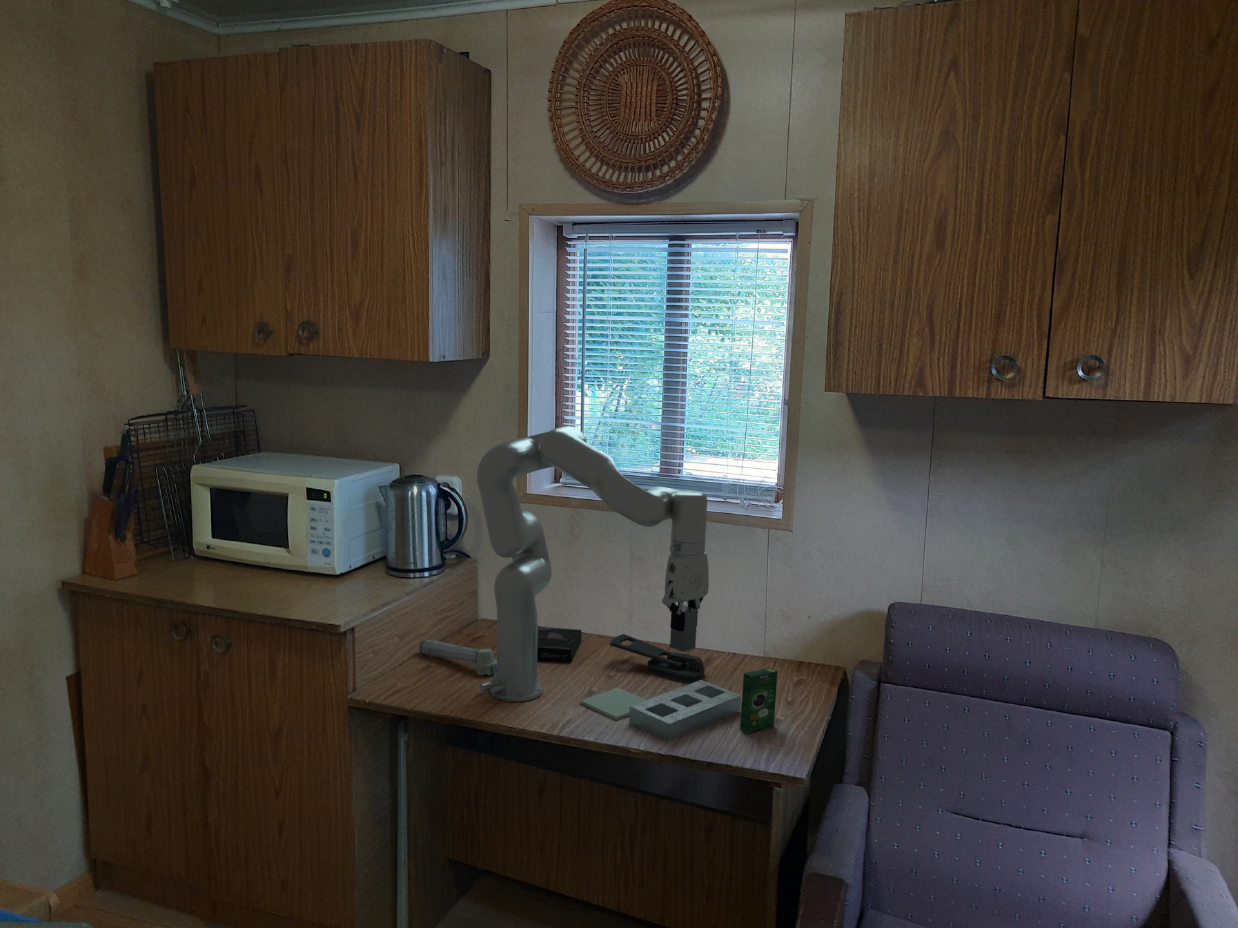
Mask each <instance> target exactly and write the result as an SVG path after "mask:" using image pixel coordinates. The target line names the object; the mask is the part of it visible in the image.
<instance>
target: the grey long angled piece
mask: <svg viewBox="0 0 1238 928" xmlns="http://www.w3.org/2000/svg"><path fill="white" fill-rule="evenodd" d="M419 652H420V653H421V654H422V655H423V654H424V656H428V657H431V658H435V657H436V658H442V659H451V660H459V661H467V662H473V667H475V673H476V674H477V675H478V676H484V675H487V676H493V675H495V674H497V659H495V656H494V652H493V650H492V649H490V648H481V649H477V648H472V647H468V646H467V647H466V646H463V645H457V644H452V643H447V642H443V641H438V640H437V639H433V640H431V639H425V640H423V641H421V643H420V645H419Z"/></svg>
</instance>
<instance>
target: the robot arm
mask: <svg viewBox="0 0 1238 928" xmlns="http://www.w3.org/2000/svg"><path fill="white" fill-rule="evenodd" d="M548 468H555V469H556V470H558V471H560V472H561V473H563V474H565V475H567V476H568V477H570V478H572V479H574V480H575V481H577V482H578V483H580V484H582V485H583V486H585V487H587V488H588V489H590V490H592V491H593V493H594V494H595V495H596V496H597V497H598V498H599V499H600V500H601V501H602V502H603V503H604V504H605V505H606V506H608V507H609V508H611V509H612V511H614V512H616V513H617V514H619V515H621V516H622V517H624V518H627V520H629V521H631V522H634V524H637V525H639V526H642V527H647V528H652V527H656V526H658V525H660V524H661V523H662V522H663V521H667V520H670V521H671V529H670V531H671V532H670V546H669V551H670V553H669V556H668V559H667V563H666V572H665V579H664V595H663V597H662V600H661V603H662V604H663V605H665V606H666V607H667V608H668V611H669V612H670V630H671V629H674V630H677V631H679V632H681V631H683V615H684V614H682V608H683V605H684V603H685V602H687V606H689V607H692V608H695V609H697V619H698V617H699V609H700V608H701V603H702V602H703V600H704V598H705V597H706V596H707V594H709V585H710V583H709V581H710V575H709V572H710V571H709V559H708V555H707V552H706V551H705V549H706V534H707V533H706V532H707V512H708V497H707V495H706V494H705V493H703V492H700V491H696V490H677V489H674V488H669V487H666V486H653V487H651V488H649V489H647V490H646V489H644V488H642V487H641V486H639V485H637V484H635V483H633V482H632V481H631V480H629V479H628V478H627V477H625V476H624V475H623V474H622V473H621V472H620V471H619V470H618V467H617V465H616V462H615V460H614V459H613V457H612V456H610V455H609V454H607V453H605V452H603V451H601V450H599V449H598V448H597V447H594V446H593V445H592V444H589V443H588V441H587V437H586V436H585V434H584V433H583V432H582V431H581V430H579V428H577V427H575V426H571V425H569V426H567V425H566V426H561V427H557V428H553V429H551V430H549V431H545V432H542V433H537V434H534V435H529V436H524V437H521V438H516V439H512V440H508V441H504V442H502V443H499V444H497V445H495V446H493V447H492V448H490V449H489V450H488V451H486V453H485V454H484V455H483V456H482V458H481V459H480V461H479V464H478V465H477V470H476V482H477V486H478V492H479V495H480V499H481V502H482V504H481V505H482V507H483V515H484V518H485V523H486V527H487V532H488V537H489V541H490V545H491V549H492V551H493V552H494V553H495V554H496V555H498V556H499V557H501V558H511V559H512V561H511V562H510V563H508V564H506V565H505V566H504V567H502V568H501V569H500V570H499V572H498V573H497V575H496V577H495V579H494V586H493V589H494V597H495V603H496V622H497V623H496V630H497V631H496V632H497V633H496V660H497V673H495V674H493V675H492V679H490V680H489V681H488V682H484V683H481V684H479V691H480V692H481V693H484V692H488V691H489V693H490V694H491V696H492V697H493V698H495V699H497V700H501V701H506V702H527V701H532V700H534V699H537V698H539V697H540V696H541V695H542V694H543V693H544V686H543V684H542V682H541V681H538V661H537V645H538V627H539V626H538V625H539V624H538V623H539V622H538V621H539V620H538V619H539V618H538V609H537V604H536V595H538V594H539V593H540V592H541V591H543V590H544V589H546V587H548V585H549V583H550V581H551V578H552V566H551V559H550V555H549V551H548V546H547V541H546V536H545V532H544V529H543V525H542V524H541V522H540V520H539V518H538V517H537V516H536V515H535V514H534V513H532V512H530V511H527V510H522V508H521V503H520V497H519V494H518V492H517V489H516V488H515V485H514V483H513V480H514V479H516V478H519V477H521V476H525V475H527V474H528V475H529V474H530V473H534V472H537V471H541V470H545V469H548ZM676 602H677V604H676ZM697 627H698V625H697V626H696V628H697Z"/></svg>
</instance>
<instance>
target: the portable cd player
mask: <svg viewBox="0 0 1238 928" xmlns="http://www.w3.org/2000/svg"><path fill="white" fill-rule="evenodd" d="M581 644H582V629H576V628H575V629H573V628H560V627H559V628H557V627H541V626H538V645H537V662H538V661H539V662H548V663H551V662H553V663H565V664H572V663H573V660H574V658H575V655H576V654H577V652H578V649H579V647H580V645H581Z"/></svg>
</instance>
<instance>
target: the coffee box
mask: <svg viewBox="0 0 1238 928" xmlns="http://www.w3.org/2000/svg"><path fill="white" fill-rule="evenodd" d="M777 684H778V670H776V669H774V668H771V667H766V668H762V669H758V670H752V671H747V672H743V680H742V695H741V706H740V723H739V724H740V725H739V726H740V727H739V729H740V731H741V732H743V733H746V734H750V733H755V732H757V731H761V730H765V729H769V728H771V727H774V726H775V712H776V700H777V687H778V686H777Z"/></svg>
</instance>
